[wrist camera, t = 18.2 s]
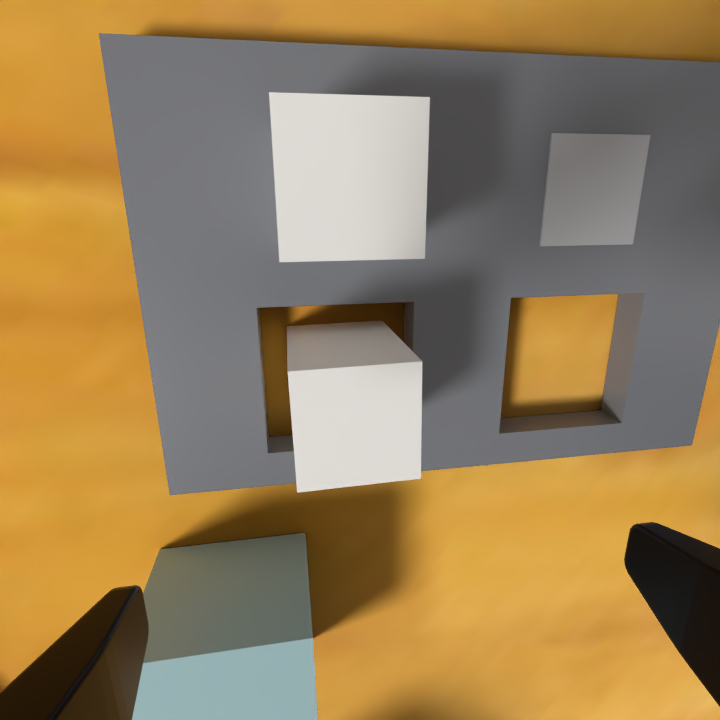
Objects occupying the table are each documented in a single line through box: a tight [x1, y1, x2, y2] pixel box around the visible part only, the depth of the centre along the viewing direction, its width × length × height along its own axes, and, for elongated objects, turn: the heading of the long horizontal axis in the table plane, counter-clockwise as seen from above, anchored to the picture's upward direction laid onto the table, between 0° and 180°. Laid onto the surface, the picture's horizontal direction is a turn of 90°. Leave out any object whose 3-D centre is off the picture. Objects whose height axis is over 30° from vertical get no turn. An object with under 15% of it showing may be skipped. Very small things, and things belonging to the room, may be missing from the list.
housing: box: [132, 533, 318, 720], centre depth 19 cm, size 7×7×6 cm
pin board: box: [99, 33, 720, 495], centre depth 16 cm, size 24×16×6 cm, turn 91°
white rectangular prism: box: [287, 320, 422, 493], centre depth 17 cm, size 4×4×6 cm
